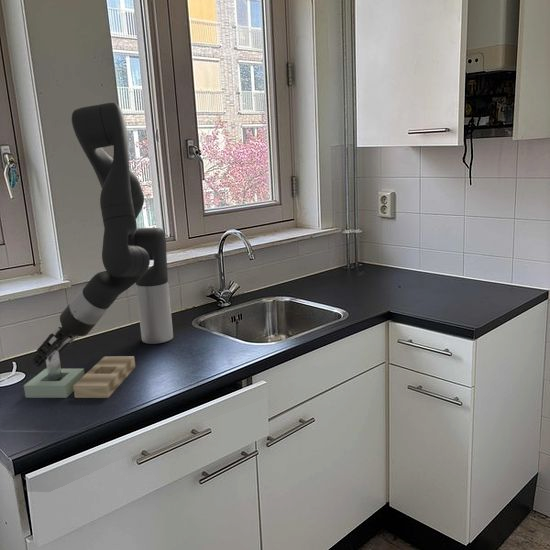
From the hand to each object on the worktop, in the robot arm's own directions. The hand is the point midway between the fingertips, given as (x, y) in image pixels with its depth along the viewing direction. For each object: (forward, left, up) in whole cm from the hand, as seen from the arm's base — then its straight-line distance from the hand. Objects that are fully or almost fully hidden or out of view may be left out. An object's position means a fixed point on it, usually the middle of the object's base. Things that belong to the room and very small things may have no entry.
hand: (46, 357), depth 132 cm
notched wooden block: (-4, +12, -8) cm, 15 cm away
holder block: (0, +1, -8) cm, 8 cm away
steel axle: (0, +1, -8) cm, 8 cm away
